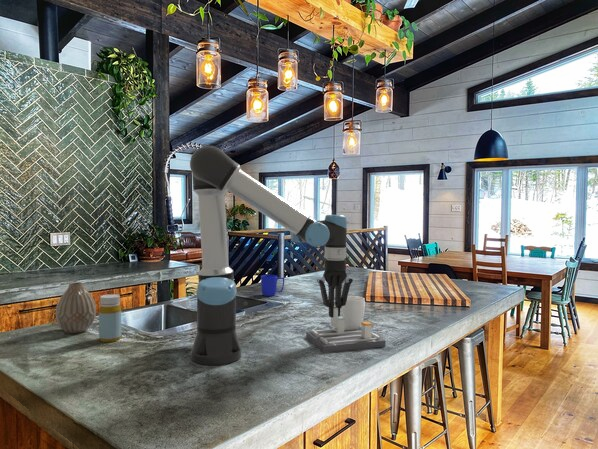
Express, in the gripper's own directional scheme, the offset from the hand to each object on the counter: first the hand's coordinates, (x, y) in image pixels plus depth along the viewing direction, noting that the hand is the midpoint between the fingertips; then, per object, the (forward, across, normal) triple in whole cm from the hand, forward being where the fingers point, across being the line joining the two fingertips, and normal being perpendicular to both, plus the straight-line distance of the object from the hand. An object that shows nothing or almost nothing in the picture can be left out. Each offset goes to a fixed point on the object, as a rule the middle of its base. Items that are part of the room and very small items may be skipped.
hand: (334, 325), depth 156 cm
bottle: (+5, -74, +19) cm, 77 cm away
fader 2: (+2, +8, -9) cm, 12 cm away
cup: (+5, +10, +8) cm, 14 cm away
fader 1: (+2, +2, 0) cm, 3 cm away
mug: (+5, -3, +76) cm, 76 cm away
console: (+4, +2, -4) cm, 7 cm away
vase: (+5, -87, +34) cm, 93 cm away
